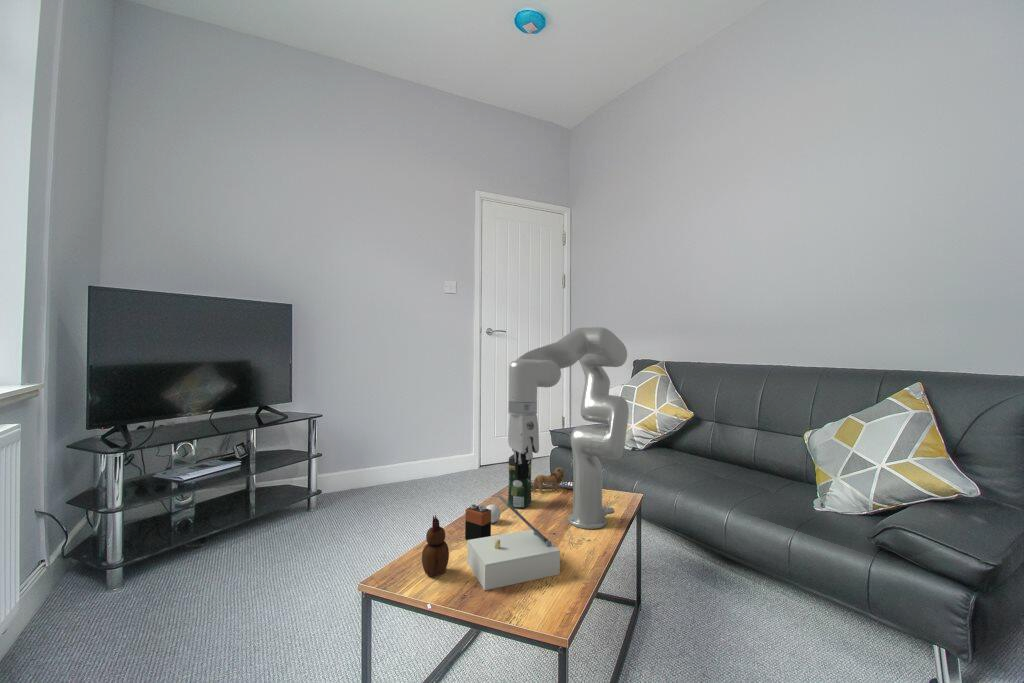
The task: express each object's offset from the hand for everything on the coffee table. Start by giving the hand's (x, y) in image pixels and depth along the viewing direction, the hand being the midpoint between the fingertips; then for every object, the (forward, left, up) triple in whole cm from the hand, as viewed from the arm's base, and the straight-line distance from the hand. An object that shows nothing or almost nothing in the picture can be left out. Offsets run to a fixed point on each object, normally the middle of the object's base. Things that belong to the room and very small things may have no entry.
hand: (521, 477), depth 113 cm
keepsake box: (+2, 0, -23) cm, 23 cm away
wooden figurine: (+21, -5, -23) cm, 32 cm away
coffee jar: (-18, -41, -23) cm, 51 cm away
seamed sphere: (-3, -29, -23) cm, 37 cm away
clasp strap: (0, 0, -11) cm, 11 cm away
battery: (+5, -19, -23) cm, 31 cm away
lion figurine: (-35, -51, -23) cm, 66 cm away
